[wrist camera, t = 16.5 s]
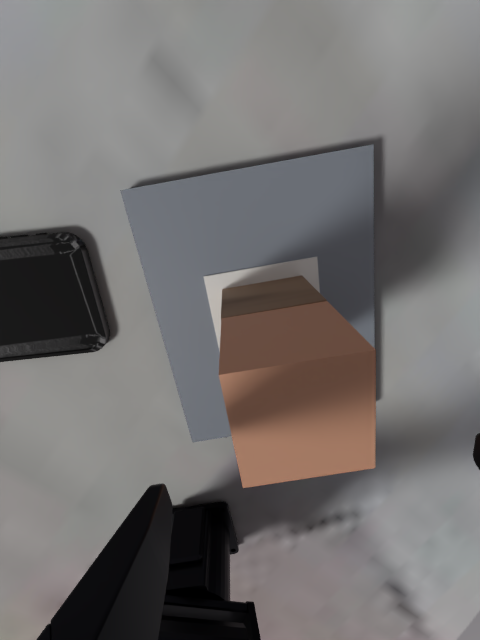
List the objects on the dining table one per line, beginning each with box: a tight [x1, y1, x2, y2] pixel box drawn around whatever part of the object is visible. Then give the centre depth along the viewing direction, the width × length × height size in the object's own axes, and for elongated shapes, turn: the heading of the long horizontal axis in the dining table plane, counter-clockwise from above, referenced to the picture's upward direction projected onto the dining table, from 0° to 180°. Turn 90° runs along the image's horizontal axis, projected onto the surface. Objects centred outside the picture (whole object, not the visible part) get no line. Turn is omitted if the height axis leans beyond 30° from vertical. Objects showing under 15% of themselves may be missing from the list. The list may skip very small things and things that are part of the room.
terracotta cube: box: [219, 301, 376, 488], centre depth 13 cm, size 5×5×5 cm
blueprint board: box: [120, 144, 375, 442], centre depth 20 cm, size 18×14×1 cm
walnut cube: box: [221, 275, 327, 318], centre depth 18 cm, size 5×5×5 cm
